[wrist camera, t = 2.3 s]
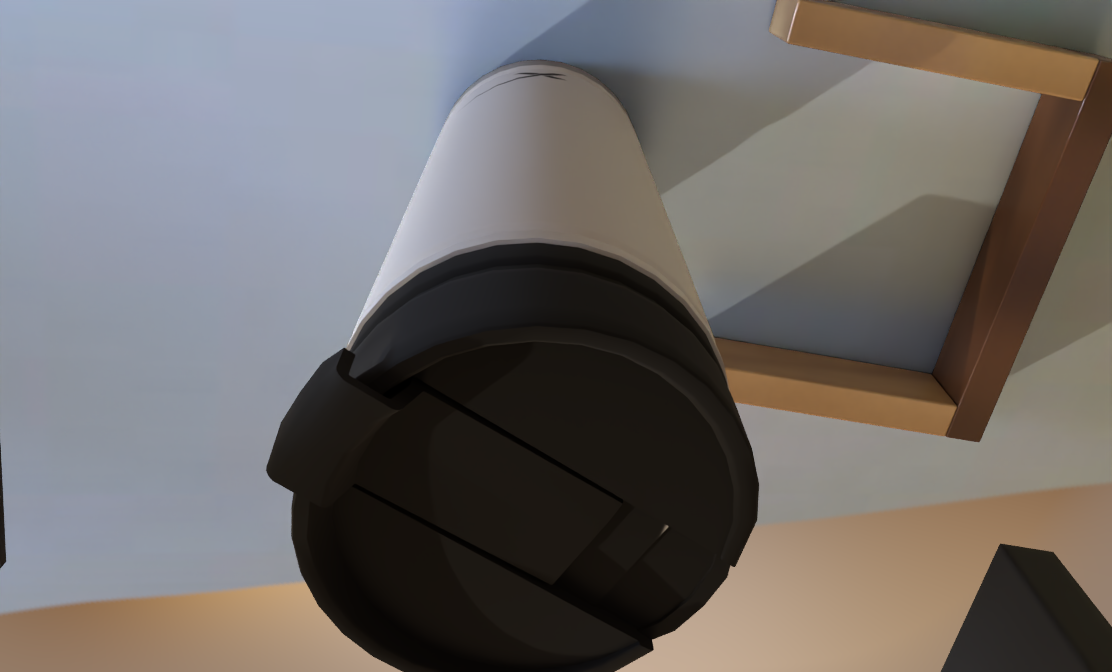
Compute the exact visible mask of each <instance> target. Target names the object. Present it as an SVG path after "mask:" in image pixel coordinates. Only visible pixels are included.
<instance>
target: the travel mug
mask: <svg viewBox="0 0 1112 672" xmlns="http://www.w3.org/2000/svg"><path fill="white" fill-rule="evenodd" d="M266 471H267V474H268V476H269V477H270V478H271V479H272V481H274V482H276V483H278V484H280V485H281V486H283V487H285V488H287V489H289V490H290V491H292V492H294V494H293V501H292V529H291V536H292V540H293V544H294V548H295V552H296V556H297V560H298V564H299V568H300V572H301V574H302V576H303V578H304V580H305V582H306V583H307V585H308V587H309V589H310V591H311V593H312V594H313V597H314V598H315V600H316V602H317V604H318V606H319V607H320V608H321V609H322V610H323V611H324V613H325V614H327V616H328V617H329V618H330V619H331V620H332V622H333V623H334V624H335V625H336V626H337V627H338V629H339V630H340V631H341V632H342V633H343V634H344V635H345V636H347V637H348V638H349V639H351V640H352V641H353V642H355V643H356V644H357V645H359V646H360V647H361V648H363V649H364V650H365V651H366V652H368V653H369V654H370V655H372V656H373V657H375V658H377V659H379V660H381V661H383V662H385V663H387V664H389V665H391V666H393V667H395V668H397V669H399V670H401V671H403V672H615V671H617V670H619V669H620V668H622V667H624V666H626V665H628V664H629V663H631V662H633V661H635V660H636V659H638V658H640V657H642V656H644V655H645V654H647V653H649V652H651V651H653V643H652V639H655V638H657V637H660V636H662V635H665V634H668V633H670V632H673V631H675V630H676V629H677V628H678V627H680V626H681V625H682V624H683V623H684V622H685V621H686V620H688V619H689V618H690V617H691V616H692V615H693V614H695V613H696V612H697V611H698V610H700V609H701V608H702V607H703V606H704V605H705V604H706V602H707V601H708V600H709V599H710V598H711V596H712V595H713V594H714V592H715V591H716V590H717V589H718V588H719V587H720V585H721V584H722V583H723V582H724V580H725V579H726V578H727V576H728V572H729V568H730V565H731V566H733V567H735V566H736V564H737V562H738V560H739V557H740V555H741V553H742V551H743V549H744V547H745V545H746V543H747V540H748V538H749V536H750V534H751V532H752V530H753V528H754V526H755V523H756V521H757V513H758V493H759V482H758V477H757V472H756V467H755V462H754V457H753V452H752V448H751V445H750V443H749V440H748V438H747V435H746V432H745V429H744V427H743V424H742V421H741V419H740V416H739V413H738V411H737V408H736V405H735V402H734V400H733V397H732V395H731V393H730V390H729V385H728V380H727V376H726V371H725V366H724V363H723V360H722V357H721V355H720V352H719V350H718V348H717V346H716V343H715V339H714V336H713V334H712V331H711V329H710V326H709V323H708V321H707V318H706V315H705V313H704V310H703V308H702V305H701V302H700V300H699V297H698V295H697V292H696V289H695V287H694V284H693V282H692V279H691V276H690V274H689V271H688V268H687V266H686V263H685V261H684V258H683V255H682V253H681V250H680V248H679V245H678V242H677V240H676V237H675V234H674V232H673V229H672V227H671V224H670V221H669V219H668V216H667V214H666V211H665V208H664V206H663V203H662V201H661V198H660V195H659V193H658V190H657V187H656V185H655V182H654V180H653V177H652V174H651V172H650V169H649V167H648V164H647V161H646V159H645V156H644V153H643V151H642V148H641V146H640V143H639V140H638V138H637V135H636V133H635V130H634V127H633V125H632V123H631V121H630V119H629V116H628V114H627V112H626V110H625V108H624V107H623V106H622V104H621V103H620V101H619V100H618V99H617V97H616V96H615V95H614V93H613V92H612V91H611V90H609V89H608V88H607V87H606V86H605V85H604V84H603V83H602V82H601V81H600V80H598V79H597V78H595V77H593V76H592V75H590V74H588V73H587V72H585V71H583V70H582V69H579V68H576V67H574V66H571V65H568V64H565V63H562V62H555V61H548V60H528V61H519V62H516V63H512V64H508V65H505V66H501V67H499V68H497V69H495V70H493V71H491V72H489V73H487V74H486V75H484V76H482V77H481V78H480V79H478V80H477V81H476V82H475V83H473V84H472V85H471V86H470V87H468V88H467V89H466V91H465V92H464V93H463V94H462V95H461V97H460V98H459V99H458V100H457V102H456V103H455V104H454V106H453V108H452V110H451V112H450V114H449V115H448V117H447V119H446V121H445V123H444V126H443V128H442V130H441V133H440V135H439V137H438V139H437V142H436V144H435V146H434V148H433V151H432V153H431V155H430V158H429V160H428V162H427V164H426V167H425V169H424V171H423V174H422V176H421V178H420V180H419V183H418V185H417V187H416V190H415V192H414V194H413V196H412V199H411V201H410V203H409V206H408V208H407V210H406V212H405V215H404V217H403V219H402V221H401V224H400V226H399V228H398V231H397V233H396V235H395V237H394V240H393V242H392V244H391V247H390V249H389V251H388V253H387V256H386V258H385V260H384V263H383V265H382V267H381V269H380V272H379V274H378V276H377V279H376V281H375V283H374V285H373V288H372V290H371V292H370V295H369V297H368V299H367V301H366V304H365V306H364V308H363V311H362V313H361V315H360V317H359V320H358V322H357V324H356V327H355V329H354V331H353V335H352V337H351V339H350V341H349V343H348V345H347V347H346V348H343V349H342V350H340V351H339V352H337V353H336V354H334V355H333V356H331V357H330V358H328V359H327V360H326V361H324V362H323V363H322V364H321V365H320V367H319V368H318V369H317V370H316V372H315V373H314V374H313V376H312V377H311V378H310V380H309V381H308V382H307V384H306V385H305V386H304V388H303V389H302V390H301V392H300V393H299V395H298V396H297V398H296V400H295V401H294V403H293V404H292V406H291V408H290V409H289V411H288V412H287V414H286V416H285V417H284V419H283V420H282V422H281V424H280V428H279V431H278V434H277V437H276V440H275V443H274V446H273V449H272V452H271V455H270V458H269V461H268V464H267V469H266Z"/></svg>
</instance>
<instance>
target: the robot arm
mask: <svg viewBox="0 0 1112 672" xmlns="http://www.w3.org/2000/svg"><path fill="white" fill-rule="evenodd" d="M5 562H6V549H5V528H4V507H3V486H2V466H1V445H0V568H1V567H2V566H3V565H4V563H5ZM941 672H1112V627H1111V625H1110V624H1109V623H1108V621H1107V620H1106V619H1105V618H1104V616H1103V615H1102V614H1101V612H1100V611H1099V610H1098V609H1097V607H1096V606H1095V605H1094V604H1093V602H1092V601H1091V600H1090V598H1089V597H1088V596H1087V595H1086V593H1085V592H1084V591H1083V589H1082V588H1081V587H1080V586H1079V584H1078V583H1077V582H1076V581H1075V579H1074V578H1073V577H1072V576H1071V574H1070V573H1069V572H1068V570H1067V569H1066V568H1065V566H1064V565H1063V564H1062V563H1061V561H1060V560H1059V559H1058V557H1057V556H1056V555H1055V554H1054V552H1049V551H1043V550H1036V549H1031V548H1024V547H1018V546H1011V545H1005V544H1000V545H999V547H998V549H997V551H996V554H995V556H994V558H993V560H992V562H991V564H990V567H989V569H988V571H987V573H986V575H985V577H984V580H983V582H982V584H981V586H980V588H979V590H978V593H977V595H976V597H975V599H974V601H973V603H972V606H971V608H970V610H969V612H968V614H967V616H966V619H965V621H964V623H963V625H962V627H961V629H960V631H959V634H958V636H957V638H956V640H955V642H954V644H953V646H952V649H951V651H950V653H949V655H948V657H947V659H946V662H945V664H944V666H943V668H942V670H941Z"/></svg>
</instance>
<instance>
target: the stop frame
mask: <svg viewBox="0 0 1112 672" xmlns="http://www.w3.org/2000/svg"><path fill="white" fill-rule="evenodd" d="M769 32H770V33H772V34H773V35H775V36H777V37H778V38H780V39H782V40H783V41H785V42H786V43H788V44H793V45H798V46H803V47H808V48H813V49H818V50H823V51H828V52H833V53H838V54H843V55H849V56H854V57H859V58H864V59H869V60H874V61H879V62H884V63H889V64H894V65H899V66H904V67H909V68H914V69H919V70H924V71H930V72H935V73H940V74H945V75H950V76H955V77H960V78H965V79H970V80H975V81H980V82H985V83H990V84H995V85H1000V86H1005V87H1011V88H1016V89H1021V90H1026V91H1031V92H1036V93H1041V94H1042V95H1041V97H1040V100H1039V102H1038V105H1037V108H1036V110H1035V113H1034V115H1033V118H1032V120H1031V123H1030V125H1029V128H1028V131H1027V133H1026V136H1025V138H1024V141H1023V143H1022V146H1021V148H1020V151H1019V154H1018V156H1017V159H1016V161H1015V164H1014V166H1013V169H1012V171H1011V174H1010V176H1009V179H1008V182H1007V184H1006V187H1005V189H1004V192H1003V194H1002V197H1001V199H1000V202H999V205H998V207H997V210H996V212H995V215H994V217H993V220H992V222H991V225H990V228H989V230H988V233H987V235H986V238H985V240H984V243H983V245H982V248H981V251H980V253H979V256H978V258H977V261H976V263H975V266H974V268H973V271H972V273H971V276H970V279H969V281H968V284H967V286H966V289H965V291H964V294H963V296H962V299H961V302H960V304H959V307H958V309H957V312H956V314H955V317H954V319H953V322H952V325H951V327H950V330H949V332H948V335H947V337H946V340H945V342H944V345H943V348H942V350H941V353H940V355H939V358H938V360H937V363H936V365H935V368H934V370H933V373H932V375H931V374H929V373H923V372H917V371H911V370H905V369H899V368H893V367H887V366H881V365H875V364H869V363H863V362H857V361H851V360H846V359H840V358H834V357H828V356H822V355H816V354H810V353H804V352H798V351H792V350H786V349H780V348H774V347H768V346H762V345H756V344H751V343H745V342H739V341H733V340H727V339H721V338H715V337H714V339H715V343H716V346H717V348H718V350H719V352H720V355H721V357H722V360H723V363H724V366H725V371H726V376H727V380H728V385H729V390H730V393H731V395H732V397H733V400H734V402H736V403H742V404H749V405H755V406H761V407H767V408H773V409H779V410H785V411H792V412H798V413H804V414H810V415H816V416H822V417H828V418H835V419H841V420H847V421H853V422H859V423H865V424H872V425H878V426H884V427H890V428H896V429H902V430H908V431H915V432H921V433H927V434H933V435H939V436H946V437H950V438H956V439H962V440H968V441H974V442H980V440H981V438H982V435H983V433H984V431H985V428H986V426H987V424H988V421H989V419H990V417H991V414H992V412H993V410H994V407H995V405H996V403H997V400H998V398H999V396H1000V393H1001V391H1002V389H1003V386H1004V384H1005V382H1006V379H1007V377H1008V375H1009V372H1010V370H1011V368H1012V365H1013V363H1014V361H1015V358H1016V356H1017V354H1018V351H1019V349H1020V347H1021V344H1022V342H1023V340H1024V337H1025V335H1026V333H1027V330H1028V328H1029V326H1030V323H1031V321H1032V319H1033V316H1034V314H1035V312H1036V309H1037V307H1038V305H1039V302H1040V300H1041V298H1042V295H1043V293H1044V291H1045V288H1046V286H1047V284H1048V281H1049V279H1050V277H1051V274H1052V272H1053V270H1054V267H1055V265H1056V263H1057V260H1058V258H1059V256H1060V253H1061V251H1062V249H1063V246H1064V244H1065V242H1066V239H1067V237H1068V235H1069V232H1070V230H1071V228H1072V225H1073V223H1074V221H1075V218H1076V216H1077V214H1078V211H1079V209H1080V207H1081V204H1082V202H1083V200H1084V197H1085V195H1086V193H1087V190H1088V188H1089V186H1090V183H1091V181H1092V179H1093V176H1094V174H1095V172H1096V169H1097V167H1098V165H1099V162H1100V160H1101V158H1102V155H1103V153H1104V151H1105V148H1106V146H1107V144H1108V141H1109V139H1110V137H1111V134H1112V59H1109V58H1105V57H1102V56H1098V55H1095V54H1090V53H1085V52H1080V51H1075V50H1070V49H1065V48H1059V47H1055V46H1050V45H1045V44H1040V43H1035V42H1030V41H1025V40H1020V39H1015V38H1010V37H1006V36H1001V35H996V34H991V33H986V32H981V31H976V30H971V29H966V28H961V27H956V26H951V25H946V24H941V23H936V22H931V21H926V20H922V19H917V18H912V17H907V16H902V15H897V14H892V13H887V12H882V11H877V10H872V9H867V8H862V7H857V6H852V5H847V4H842V3H838V2H833V1H828V0H777V2H776V6H775V9H774V13H773V17H772V21H771V24H770V28H769Z"/></svg>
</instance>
